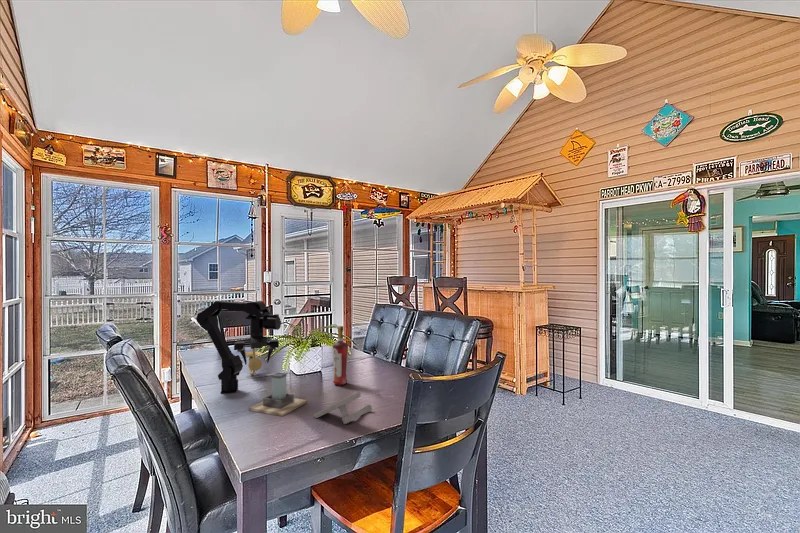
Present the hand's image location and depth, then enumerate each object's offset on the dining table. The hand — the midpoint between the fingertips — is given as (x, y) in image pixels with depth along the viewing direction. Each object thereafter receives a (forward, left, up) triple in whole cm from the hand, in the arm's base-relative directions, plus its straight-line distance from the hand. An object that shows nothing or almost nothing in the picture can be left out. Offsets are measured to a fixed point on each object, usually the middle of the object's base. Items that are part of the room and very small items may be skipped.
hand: (256, 363), depth 175 cm
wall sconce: (-3, +31, -13) cm, 34 cm away
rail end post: (+9, -21, -12) cm, 26 cm away
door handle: (+33, -39, -14) cm, 53 cm away
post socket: (+9, -21, -13) cm, 26 cm away
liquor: (+38, +1, -13) cm, 40 cm away
